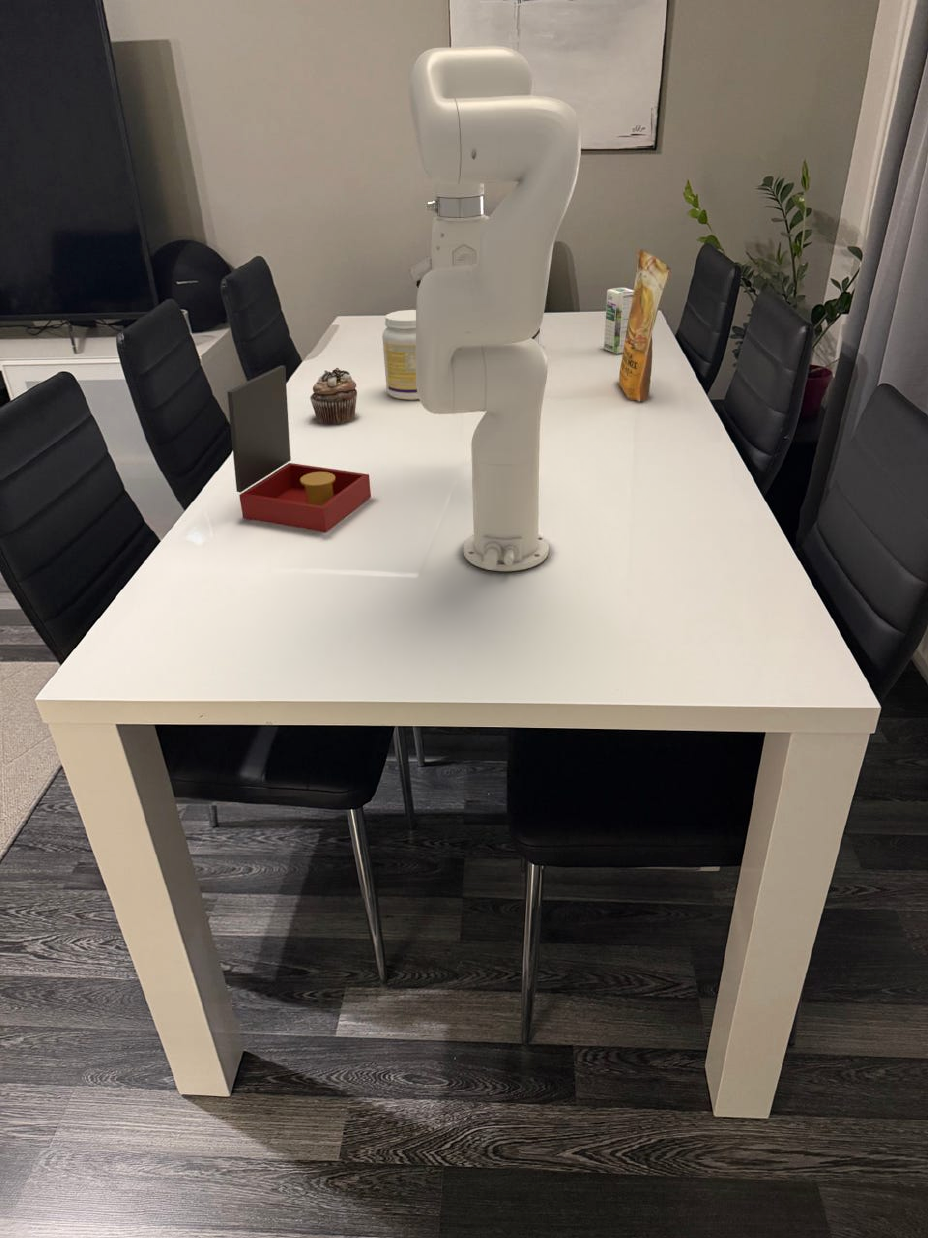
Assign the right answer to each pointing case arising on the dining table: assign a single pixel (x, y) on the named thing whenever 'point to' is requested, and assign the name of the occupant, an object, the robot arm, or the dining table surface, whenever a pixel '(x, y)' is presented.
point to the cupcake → (334, 398)
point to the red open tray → (303, 498)
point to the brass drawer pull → (318, 487)
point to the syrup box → (617, 318)
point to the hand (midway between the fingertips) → (464, 319)
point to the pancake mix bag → (642, 325)
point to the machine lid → (259, 427)
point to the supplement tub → (400, 354)
